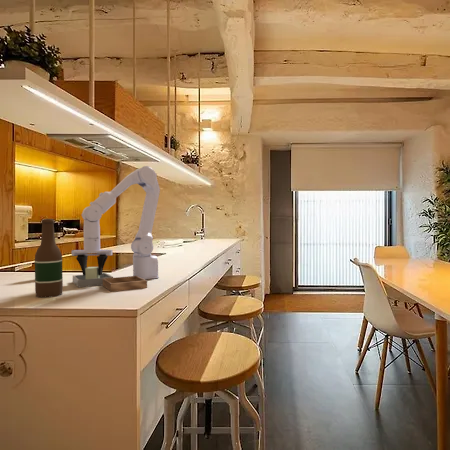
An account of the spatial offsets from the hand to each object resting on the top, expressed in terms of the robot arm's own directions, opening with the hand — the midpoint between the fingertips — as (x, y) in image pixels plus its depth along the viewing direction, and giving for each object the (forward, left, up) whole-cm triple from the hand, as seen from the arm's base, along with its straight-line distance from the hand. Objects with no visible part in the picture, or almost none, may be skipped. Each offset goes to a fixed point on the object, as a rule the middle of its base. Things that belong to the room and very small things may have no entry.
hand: (92, 274), depth 137 cm
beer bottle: (+16, +15, -3) cm, 22 cm away
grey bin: (0, 0, -3) cm, 3 cm away
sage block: (0, 0, -3) cm, 3 cm away
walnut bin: (-8, +14, -3) cm, 16 cm away
